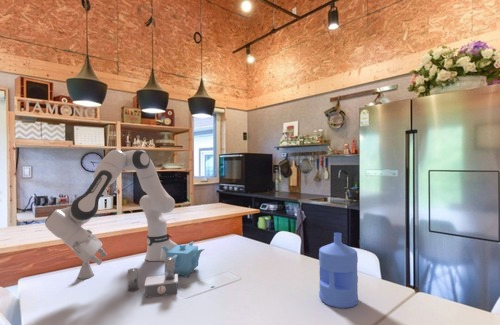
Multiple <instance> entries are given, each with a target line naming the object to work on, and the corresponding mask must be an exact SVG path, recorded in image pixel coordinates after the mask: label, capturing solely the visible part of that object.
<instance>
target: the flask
mask: <svg viewBox="0 0 500 325" xmlns="http://www.w3.org/2000/svg"><path fill="white" fill-rule="evenodd" d="M93 276H95V274H94V271H93V270H92V267H91V264H90V260H89V261H88V262H87V263H86V262H83V261H82V264H81V268H80V269H79V271H78V275H77V279H80V280H81V279H82V280H86V279H90V278H92V277H93Z"/></svg>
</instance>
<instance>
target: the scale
mask: <svg viewBox="0 0 500 325" xmlns="http://www.w3.org/2000/svg"><path fill="white" fill-rule="evenodd" d="M178 283H179V274H175V279H173V280H165V274H163V275H155V276H147V277H145V281H144V287H145V298H151V297H152V298H154V297H161V296H168V295H169V296H170V295H177V294H178Z"/></svg>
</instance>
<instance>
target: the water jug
mask: <svg viewBox="0 0 500 325" xmlns="http://www.w3.org/2000/svg"><path fill="white" fill-rule="evenodd" d="M342 235H343V234H342V233H341V232H333V242H331V243H328V244H326V245H323V246H321V247H319V250H318V251H319V253H318V260H319V261H318V263H319V264H318V265H319V291H318V294H319V298H320V300H321V302H322V303H324V304H326V305H327V306H330V307H333V308H338V309H347V308H353V307H355V306H356V305H358V302H359V295H358V294H359V292H358V291H359V290H358V287H359V286H358V283H359V282H358V281H359V276H358V262H359V261H358V260H359V257H358V252H357V250H356V249H355V248H353V247H351V246H349V245H346V244H344V243H343V242H342V238H343V237H342Z"/></svg>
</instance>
